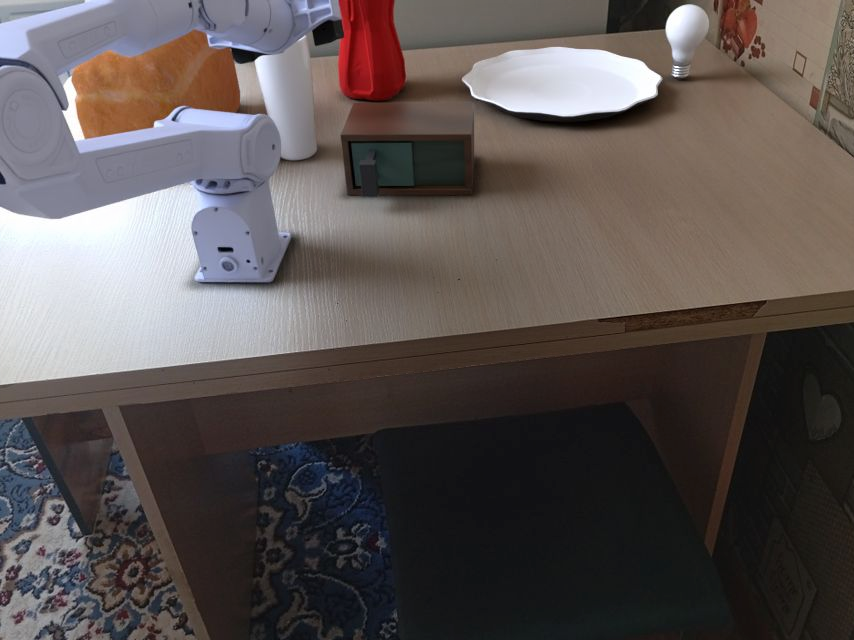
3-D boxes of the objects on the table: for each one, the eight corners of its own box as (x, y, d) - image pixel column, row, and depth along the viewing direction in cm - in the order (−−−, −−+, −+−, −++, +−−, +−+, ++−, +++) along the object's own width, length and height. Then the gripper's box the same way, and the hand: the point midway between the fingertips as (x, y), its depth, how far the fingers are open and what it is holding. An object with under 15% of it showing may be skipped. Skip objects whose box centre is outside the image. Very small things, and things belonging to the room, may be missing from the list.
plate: (438, 119, 112) (438, 103, 111) (493, 55, 134) (493, 41, 133) (646, 140, 105) (648, 123, 104) (668, 69, 127) (670, 54, 126)
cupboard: (472, 195, 94) (471, 134, 89) (347, 195, 94) (339, 134, 90) (474, 159, 101) (473, 102, 97) (359, 160, 102) (353, 102, 97)
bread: (248, 103, 119) (227, -8, 109) (197, 180, 98) (165, 51, 88) (158, 104, 119) (129, -7, 110) (89, 181, 99) (45, 52, 89)
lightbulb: (651, 74, 125) (660, 1, 119) (686, 70, 127) (698, -3, 120) (671, 88, 121) (682, 12, 114) (707, 82, 122) (720, 8, 115)
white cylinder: (312, 166, 101) (295, 46, 92) (263, 162, 102) (241, 44, 93) (330, 144, 106) (315, 29, 97) (283, 141, 107) (263, 27, 98)
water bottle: (329, 103, 118) (304, -84, 103) (359, 79, 126) (341, -98, 111) (385, 109, 116) (369, -81, 100) (412, 84, 124) (401, -96, 109)
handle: (410, 203, 90) (407, 159, 87) (350, 203, 90) (344, 159, 87) (414, 183, 94) (411, 140, 91) (356, 183, 94) (351, 141, 91)
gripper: (303, -50, 73) (361, -17, 85) (172, -13, 77) (246, 13, 90) (317, 30, 74) (373, 50, 87) (187, 61, 78) (258, 77, 91)
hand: (309, 36), depth 88 cm, fingers open, 7 cm apart
